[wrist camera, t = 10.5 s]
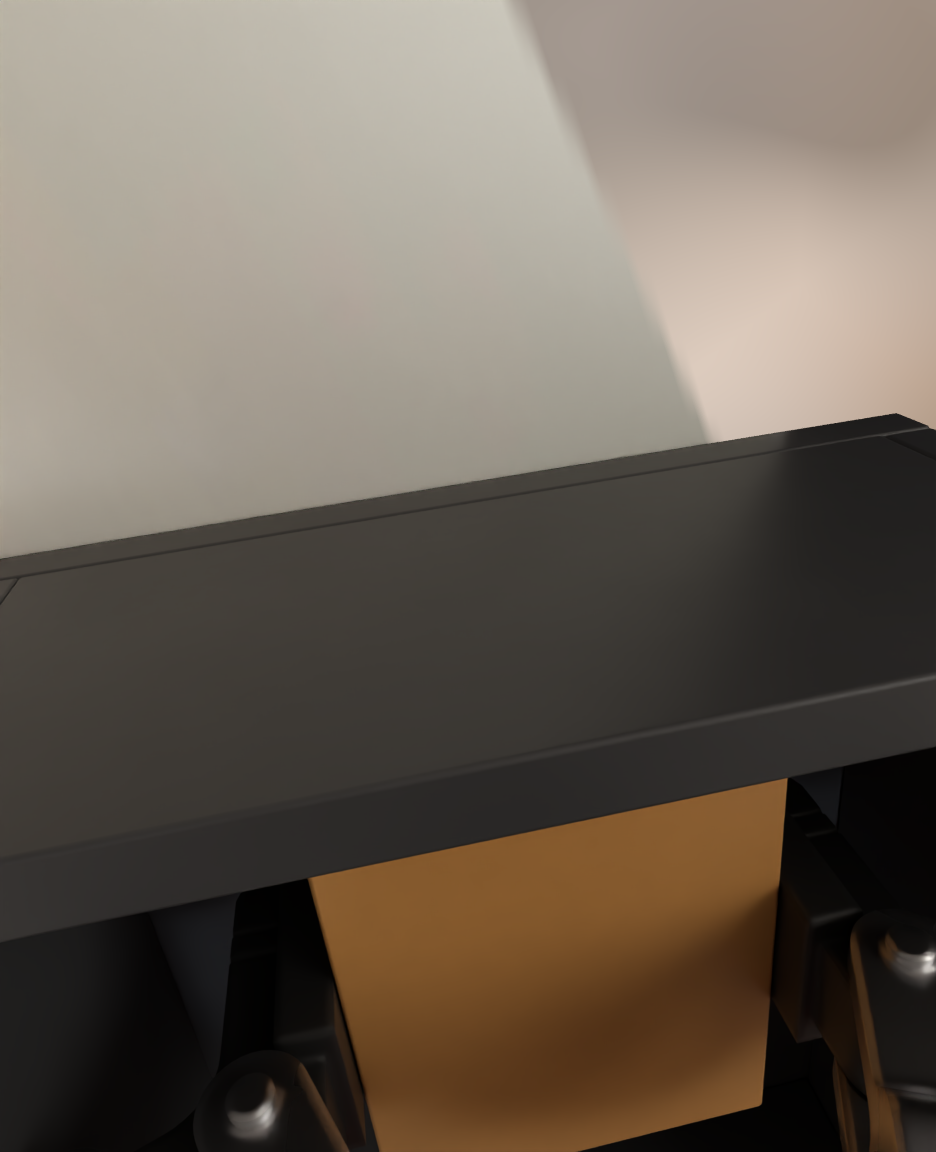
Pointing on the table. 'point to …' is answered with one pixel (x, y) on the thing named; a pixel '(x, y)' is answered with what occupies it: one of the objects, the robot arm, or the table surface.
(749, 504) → the open black box
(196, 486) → the table surface
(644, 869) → the sandwich
